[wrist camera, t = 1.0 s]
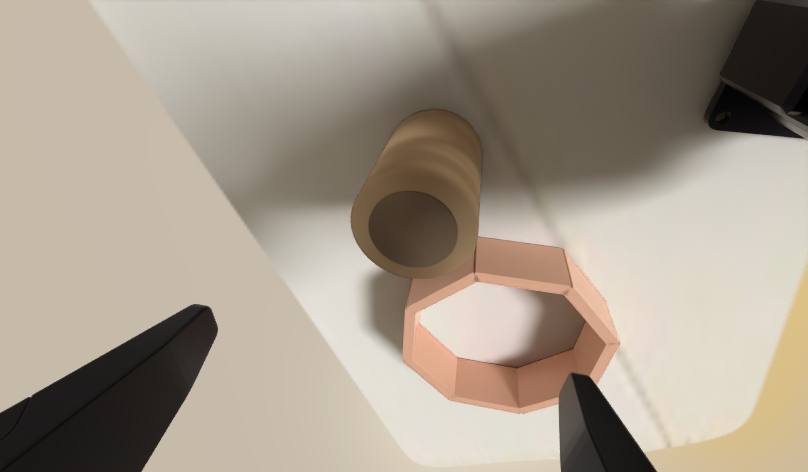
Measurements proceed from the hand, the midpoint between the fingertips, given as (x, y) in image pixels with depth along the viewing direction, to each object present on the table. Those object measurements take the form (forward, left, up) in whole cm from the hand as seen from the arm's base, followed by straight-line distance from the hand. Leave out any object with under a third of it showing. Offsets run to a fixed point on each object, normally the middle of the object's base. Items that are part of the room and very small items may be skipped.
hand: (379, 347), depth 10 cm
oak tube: (0, 0, -12) cm, 12 cm away
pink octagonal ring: (-5, +10, -12) cm, 16 cm away
